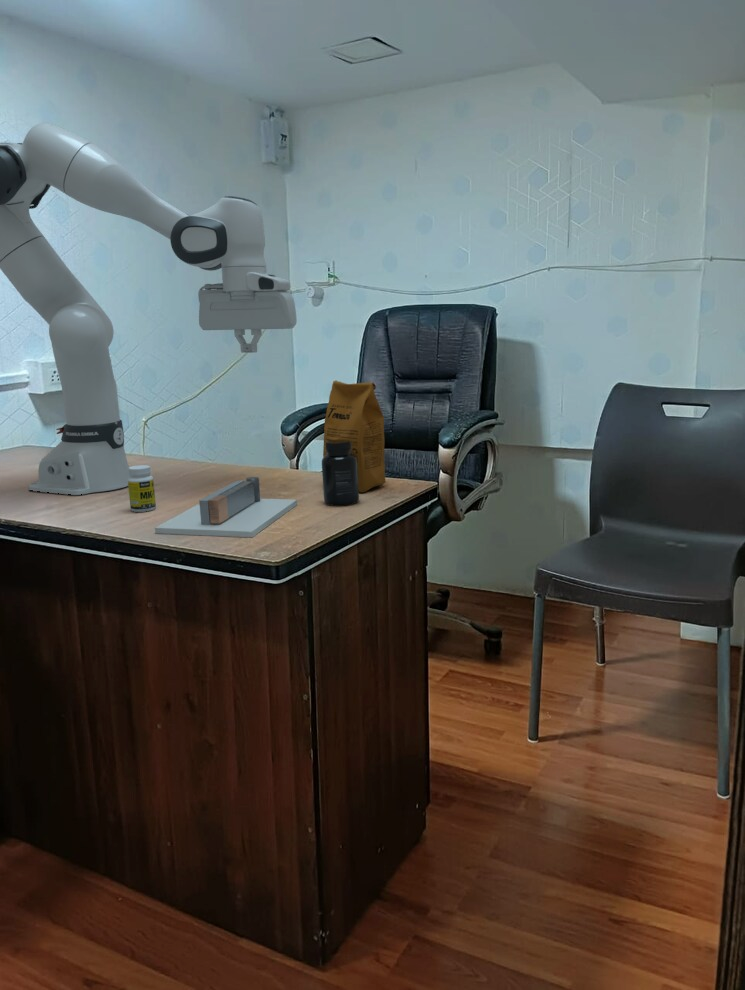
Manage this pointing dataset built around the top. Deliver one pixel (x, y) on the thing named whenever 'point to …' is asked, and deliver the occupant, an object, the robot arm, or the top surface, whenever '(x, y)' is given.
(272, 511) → the board
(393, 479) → the top surface
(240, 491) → the tongs jaw
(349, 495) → the supplement bottle
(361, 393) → the coffee package
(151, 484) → the supplement bottle
